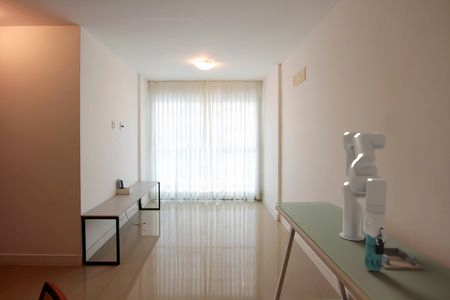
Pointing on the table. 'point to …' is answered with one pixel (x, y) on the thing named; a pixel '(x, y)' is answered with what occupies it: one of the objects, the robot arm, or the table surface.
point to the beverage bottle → (372, 254)
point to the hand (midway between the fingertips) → (373, 249)
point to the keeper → (398, 260)
